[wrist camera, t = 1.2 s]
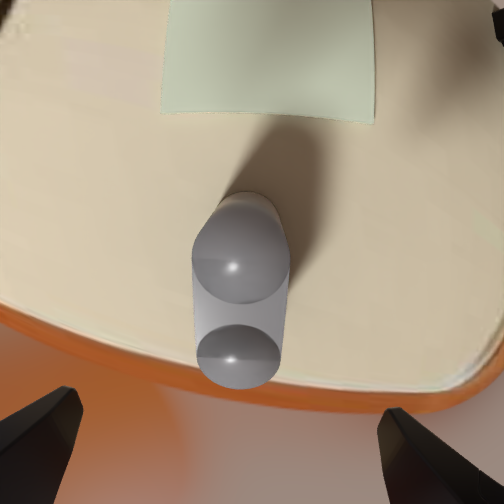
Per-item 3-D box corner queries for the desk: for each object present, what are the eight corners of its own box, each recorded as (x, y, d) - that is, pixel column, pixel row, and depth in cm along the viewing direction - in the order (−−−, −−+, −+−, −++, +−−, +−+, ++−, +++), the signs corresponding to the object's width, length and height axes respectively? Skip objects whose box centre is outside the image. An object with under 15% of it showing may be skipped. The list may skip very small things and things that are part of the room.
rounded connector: (282, 193, 18) (293, 213, 12) (270, 350, 21) (274, 412, 15) (212, 190, 18) (190, 209, 12) (213, 347, 21) (201, 408, 15)
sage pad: (361, -53, 12) (363, -57, 11) (370, 124, 16) (373, 124, 16) (184, -63, 12) (182, -67, 11) (163, 114, 16) (160, 113, 16)
